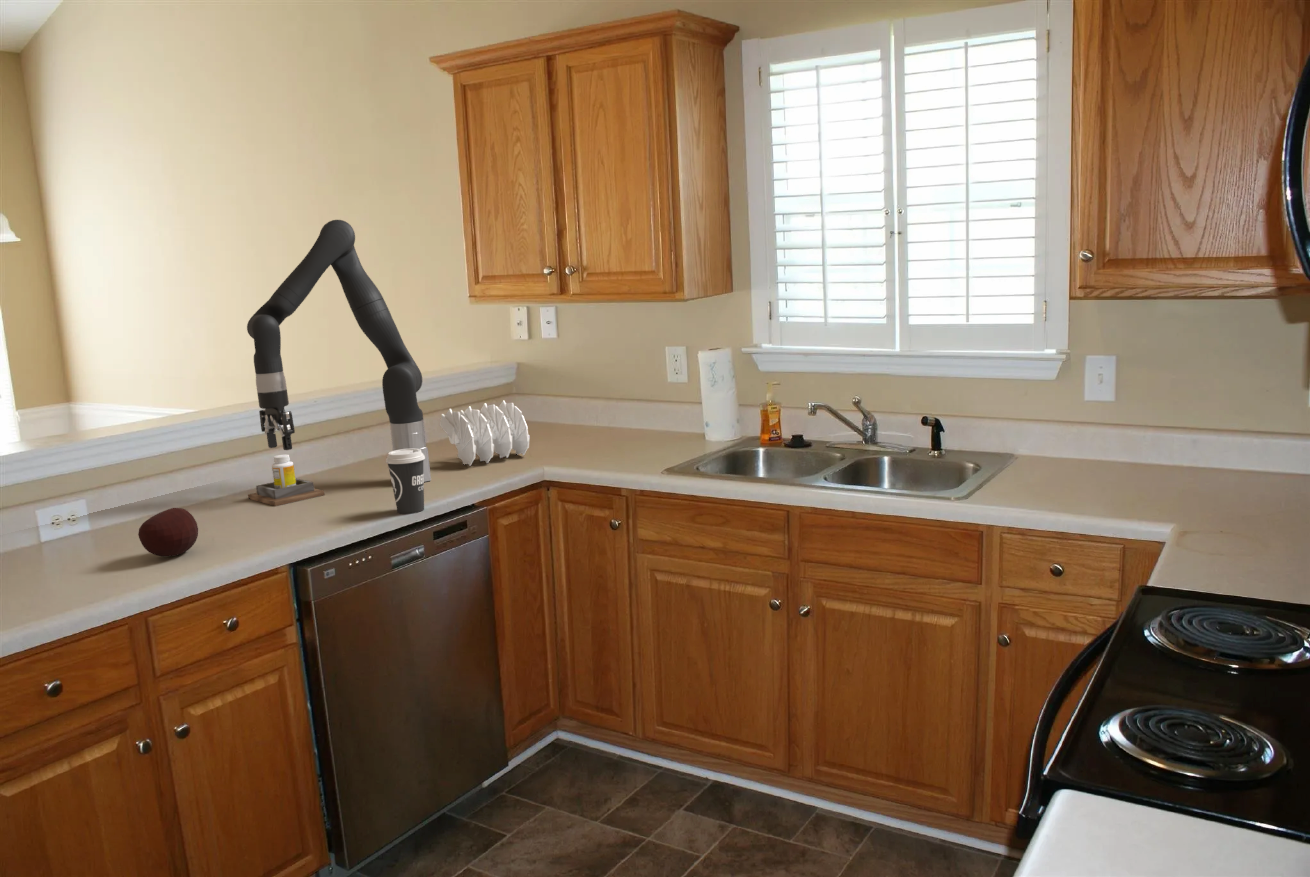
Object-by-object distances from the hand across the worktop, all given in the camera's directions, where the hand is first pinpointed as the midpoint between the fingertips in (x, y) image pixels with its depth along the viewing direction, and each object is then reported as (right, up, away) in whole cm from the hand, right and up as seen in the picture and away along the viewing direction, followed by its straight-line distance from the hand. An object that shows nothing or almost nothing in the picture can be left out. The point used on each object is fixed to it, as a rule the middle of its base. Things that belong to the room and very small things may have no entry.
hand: (280, 448), depth 280 cm
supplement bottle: (+1, -12, +3) cm, 13 cm away
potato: (-6, -23, -50) cm, 56 cm away
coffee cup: (+41, -15, -22) cm, 49 cm away
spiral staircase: (+52, -4, +36) cm, 63 cm away
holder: (+1, -13, +3) cm, 14 cm away
